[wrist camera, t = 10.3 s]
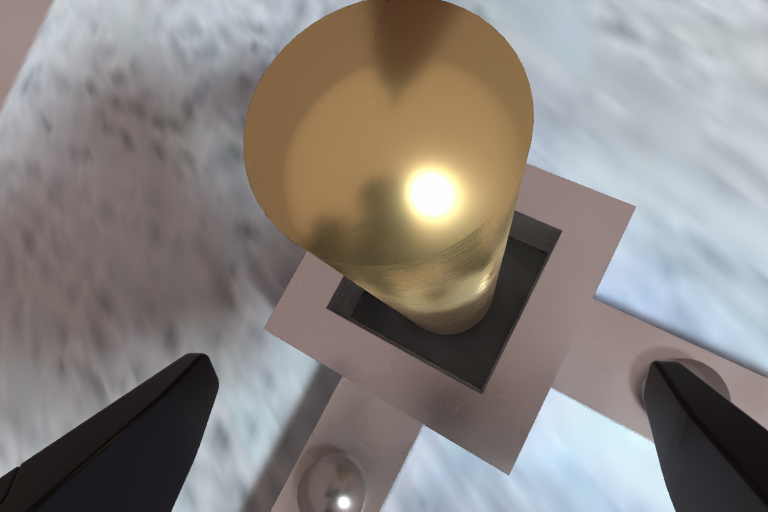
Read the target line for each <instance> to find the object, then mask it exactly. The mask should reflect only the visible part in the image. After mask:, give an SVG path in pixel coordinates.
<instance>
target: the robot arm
mask: <svg viewBox="0 0 768 512" xmlns="http://www.w3.org/2000/svg"><path fill="white" fill-rule="evenodd" d="M218 388H219V381H218V377H217V375H216V373H215V370H214V368H213V366H212V363H211V361H210V359H209V357H208V356H207V355H206V354H204V353H188V354H186V355H184V356H182V357H181V358H179V359H178V360H176V361H175V362H173V363H172V364H170V365H169V366H168V367H166V368H165V369H163V370H162V371H160V372H159V373H157V374H156V375H154V376H153V377H151V378H150V379H148V380H147V381H145V382H144V383H142V384H140V385H139V386H137V387H136V388H134V389H133V390H131V391H130V392H128V393H127V394H125V395H124V396H122V397H121V398H119V399H118V400H116V401H115V402H113V403H112V404H110V405H109V406H107V407H106V408H104V409H103V410H101V411H100V412H98V413H97V414H95V415H94V416H92V417H91V418H89V419H88V420H86V421H85V422H83V423H82V424H80V425H79V426H77V427H76V428H74V429H73V430H71V431H70V432H68V433H67V434H65V435H64V436H62V437H61V438H59V439H58V440H56V441H55V442H53V443H52V444H50V445H49V446H47V447H46V448H44V449H43V450H41V451H40V452H38V453H37V454H35V455H34V456H32V457H31V458H29V459H28V460H26V461H25V462H23V463H22V464H21V465H20V467H16V468H14V469H13V470H11V471H10V472H8V473H7V474H5V475H4V476H2V477H1V478H0V512H171V511H172V509H173V507H174V504H175V502H176V500H177V498H178V495H179V493H180V491H181V489H182V486H183V484H184V482H185V480H186V477H187V475H188V473H189V471H190V469H191V466H192V464H193V462H194V459H195V457H196V454H197V452H198V449H199V446H200V443H201V440H202V437H203V434H204V431H205V428H206V425H207V422H208V419H209V416H210V413H211V410H212V407H213V404H214V401H215V398H216V395H217V392H218ZM644 404H645V408H646V412H647V416H648V420H649V423H650V427H651V431H652V435H653V439H654V443H655V447H656V451H657V454H658V458H659V462H660V466H661V470H662V473H663V477H664V480H665V484H666V487H667V490H668V492H669V495H670V498H671V501H672V503H673V506H674V508H675V511H676V512H768V430H767V429H766V428H764V427H763V426H762V425H761V424H759V423H758V422H757V421H755V420H754V419H753V418H752V417H750V416H749V415H748V414H746V413H745V412H744V411H742V410H741V409H740V408H739V407H737V406H736V405H735V404H733V403H732V402H731V401H729V400H728V399H727V398H726V397H724V396H723V395H722V394H720V393H719V392H718V391H717V390H715V389H714V388H713V387H711V386H710V385H709V384H707V383H706V382H705V381H704V380H702V379H701V378H700V377H698V376H697V375H696V374H694V373H693V372H692V371H691V370H689V369H688V368H687V367H685V366H684V365H683V364H681V363H680V362H678V361H674V360H655V361H653V362H652V363H651V364H650V367H649V371H648V375H647V379H646V384H645V388H644Z"/></svg>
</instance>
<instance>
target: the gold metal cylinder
mask: <svg viewBox="0 0 768 512" xmlns="http://www.w3.org/2000/svg"><path fill="white" fill-rule="evenodd" d="M533 124H534V114H533V99H532V94H531V89H530V84H529V81H528V78H527V76H526V73H525V70H524V68H523V66H522V64H521V62H520V60H519V58H518V56H517V54H516V53H515V51H514V50H513V49H512V47H511V46H510V45H509V43H508V42H507V41H506V39H505V38H504V37H503V36H502V35H501V34H500V33H499V32H498V31H497V30H496V29H495V28H494V27H493V26H491V25H490V24H489V23H487V22H486V21H484V20H483V19H482V18H480V17H479V16H477V15H475V14H474V13H472V12H470V11H468V10H466V9H464V8H462V7H459V6H457V5H454V4H451V3H449V2H446V1H441V0H366V1H361V2H358V3H355V4H352V5H349V6H346V7H344V8H341V9H339V10H337V11H335V12H333V13H331V14H328V15H326V16H325V17H323V18H321V19H320V20H318V21H316V22H315V23H313V24H312V25H310V26H309V27H308V28H306V29H305V30H304V31H302V32H301V33H300V34H298V35H297V36H296V37H295V38H294V39H293V40H292V41H291V42H290V43H289V44H288V45H286V46H285V47H284V49H283V50H282V51H281V52H280V53H279V54H278V56H277V57H276V58H275V59H274V60H273V62H272V63H271V65H270V66H269V68H268V69H267V70H266V72H265V73H264V75H263V77H262V79H261V81H260V83H259V84H258V86H257V88H256V90H255V93H254V95H253V98H252V101H251V103H250V106H249V110H248V114H247V118H246V122H245V130H244V160H245V167H246V172H247V176H248V179H249V183H250V186H251V188H252V191H253V193H254V195H255V197H256V199H257V202H258V203H259V205H260V206H261V208H262V209H263V211H264V212H265V214H266V216H267V217H268V218H269V219H270V220H271V221H272V223H273V224H274V225H275V226H276V227H277V228H278V229H279V230H280V231H281V232H282V233H283V234H285V235H286V236H287V237H288V238H289V239H291V240H292V241H293V242H295V243H296V244H298V245H299V246H301V247H302V248H304V249H305V250H307V251H308V252H310V253H311V254H313V255H314V256H316V257H317V258H319V259H320V260H322V261H323V262H325V263H326V264H328V265H329V266H330V267H332V268H333V269H335V270H336V271H338V272H339V273H341V274H342V275H344V276H345V277H347V278H348V279H350V280H351V281H353V282H354V283H356V284H357V285H359V286H360V287H362V288H363V289H365V290H366V291H368V292H369V293H371V294H372V295H374V296H375V297H377V298H378V299H380V300H381V301H383V302H384V303H386V304H387V305H389V306H390V307H392V308H393V309H395V310H396V311H398V312H399V313H401V314H402V315H404V316H405V317H407V318H408V319H410V320H411V321H413V322H414V323H416V324H417V325H419V326H420V327H422V328H423V329H425V330H427V331H430V332H433V333H436V334H443V335H450V334H457V333H461V332H464V331H466V330H468V329H470V328H472V327H474V326H475V325H476V324H478V323H479V322H480V321H481V320H482V319H483V318H484V316H485V315H486V314H487V312H488V310H489V308H490V306H491V304H492V300H493V297H494V293H495V288H496V284H497V280H498V276H499V272H500V268H501V264H502V260H503V256H504V251H505V247H506V243H507V239H508V235H509V231H510V227H511V223H512V219H513V215H514V210H515V206H516V202H517V198H518V194H519V190H520V186H521V182H522V178H523V173H524V169H525V165H526V161H527V157H528V153H529V149H530V145H531V141H532V132H533Z"/></svg>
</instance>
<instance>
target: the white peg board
mask: <svg viewBox="0 0 768 512" xmlns="http://www.w3.org/2000/svg"><path fill="white" fill-rule="evenodd" d="M635 208H636V206H633V205H631V204H628V203H626V202H623V201H621V200H618V199H616V198H613V197H610V196H608V195H605V194H603V193H600V192H598V191H595V190H593V189H590V188H587V187H585V186H582V185H580V184H577V183H575V182H572V181H570V180H567V179H565V178H562V177H559V176H557V175H554V174H552V173H549V172H547V171H544V170H542V169H539V168H536V167H534V166H531V165H529V164H526V165H525V169H524V173H523V178H522V182H521V186H520V190H519V194H518V198H517V202H516V206H515V210H514V215H513V219H512V223H511V227H510V231H509V236H511V237H513V238H515V239H518V240H520V241H522V242H524V243H527V244H529V245H531V246H533V247H536V248H538V249H540V250H542V251H545V252H547V253H548V255H547V257H546V259H545V261H544V263H543V265H542V267H541V269H540V271H539V273H538V275H537V277H536V279H535V281H534V284H533V286H532V288H531V290H530V292H529V294H528V296H527V298H526V300H525V302H524V304H523V306H522V308H521V310H520V312H519V314H518V316H517V318H516V320H515V322H514V324H513V326H512V328H511V330H510V332H509V334H508V336H507V338H506V340H505V342H504V345H503V347H502V349H501V351H500V353H499V355H498V357H497V359H496V361H495V363H494V365H493V367H492V369H491V371H490V373H489V375H488V377H487V379H486V381H485V383H484V385H483V387H482V389H479V388H477V387H475V386H474V385H472V384H470V383H468V382H466V381H464V380H463V379H461V378H459V377H457V376H455V375H454V374H452V373H450V372H448V371H446V370H445V369H443V368H441V367H439V366H437V365H435V364H434V363H432V362H430V361H428V360H426V359H425V358H423V357H421V356H419V355H417V354H416V353H414V352H412V351H410V350H408V349H407V348H405V347H403V346H401V345H399V344H397V343H396V342H394V341H392V340H390V339H388V338H387V337H385V336H383V335H381V334H379V333H378V332H376V331H374V330H372V329H370V328H369V327H367V326H365V325H363V324H361V323H359V322H358V321H356V320H354V319H352V318H350V316H351V315H352V313H353V311H354V309H355V307H356V305H357V303H358V302H359V300H360V298H361V296H362V294H363V292H364V290H365V289H363V288H362V287H360V286H359V285H357V284H356V283H354V282H353V281H351V280H350V279H348V278H347V277H345V276H344V275H342V274H341V273H339V272H338V271H336V270H335V269H333V268H332V267H330V266H329V265H328V264H326V263H325V262H323V261H322V260H320V259H319V258H317V257H316V256H314V255H313V254H311V253H310V252H308V251H307V252H306V254H305V255H304V257H303V259H302V261H301V263H300V264H299V266H298V268H297V270H296V272H295V273H294V275H293V277H292V279H291V280H290V282H289V284H288V286H287V288H286V289H285V291H284V293H283V295H282V297H281V298H280V300H279V302H278V304H277V305H276V307H275V309H274V311H273V313H272V314H271V316H270V318H269V320H268V322H267V323H266V325H265V327H264V329H265V330H266V331H268V332H270V333H271V334H273V335H275V336H276V337H278V338H280V339H281V340H283V341H285V342H286V343H288V344H290V345H291V346H293V347H295V348H296V349H298V350H300V351H301V352H303V353H305V354H306V355H308V356H310V357H311V358H313V359H315V360H316V361H318V362H320V363H322V364H323V365H325V366H327V367H328V368H330V369H332V370H333V371H335V372H337V373H338V374H340V375H342V377H341V379H340V381H339V383H338V385H337V387H336V389H335V391H334V392H333V394H332V396H331V398H330V400H329V402H328V404H327V406H326V407H325V409H324V411H323V413H322V415H321V417H320V419H319V421H318V423H317V424H316V426H315V428H314V430H313V432H312V434H311V436H310V438H309V440H308V441H307V443H306V445H305V447H304V449H303V451H302V453H301V455H300V456H299V458H298V460H297V462H296V464H295V466H294V468H293V470H292V472H291V473H290V475H289V477H288V479H287V481H286V483H285V485H284V487H283V488H282V490H281V492H280V494H279V496H278V498H277V500H276V502H275V504H274V505H273V507H272V509H271V511H270V512H382V510H383V508H384V506H385V504H386V502H387V500H388V498H389V496H390V494H391V492H392V490H393V488H394V486H395V484H396V482H397V480H398V478H399V476H400V474H401V472H402V470H403V468H404V466H405V464H406V462H407V460H408V458H409V456H410V454H411V452H412V450H413V448H414V446H415V444H416V442H417V440H418V438H419V436H420V434H421V432H422V430H423V428H424V426H427V427H429V428H430V429H432V430H434V431H435V432H437V433H439V434H440V435H442V436H444V437H445V438H447V439H449V440H450V441H452V442H454V443H455V444H457V445H459V446H460V447H462V448H464V449H465V450H467V451H469V452H470V453H472V454H474V455H475V456H477V457H479V458H480V459H482V460H484V461H485V462H487V463H489V464H490V465H492V466H494V467H495V468H497V469H499V470H501V471H502V472H504V473H506V474H507V475H509V474H510V472H511V470H512V468H513V466H514V464H515V462H516V459H517V457H518V455H519V453H520V451H521V449H522V447H523V445H524V443H525V440H526V438H527V436H528V434H529V432H530V430H531V428H532V426H533V424H534V421H535V419H536V417H537V415H538V413H539V411H540V409H541V407H542V404H543V402H544V400H545V398H546V396H547V394H548V392H549V390H550V388H551V389H553V390H555V391H557V392H558V393H560V394H562V395H564V396H566V397H568V398H570V399H572V400H574V401H575V402H577V403H579V404H581V405H583V406H585V407H587V408H589V409H591V410H593V411H594V412H596V413H598V414H600V415H602V416H604V417H606V418H608V419H610V420H611V421H613V422H615V423H617V424H619V425H621V426H623V427H625V428H627V429H629V430H630V431H632V432H634V433H636V434H638V435H640V436H642V437H644V438H646V439H648V440H649V441H651V442H653V443H654V439H653V435H652V431H651V427H650V423H649V420H648V416H647V412H646V408H645V404H644V388H645V384H646V379H647V375H648V371H649V367H650V364H651V363H652V362H653V361H655V360H674V361H678V362H680V363H681V364H683V365H684V366H685V367H687V368H688V369H689V370H691V371H692V372H693V373H694V374H696V375H697V376H698V377H700V378H701V379H702V380H704V381H705V382H706V383H707V384H709V385H710V386H711V387H713V388H714V389H715V390H717V391H718V392H719V393H720V394H722V395H723V396H724V397H726V398H727V399H728V400H729V401H731V402H732V403H733V404H735V405H736V406H737V407H739V408H740V409H741V410H742V411H744V412H745V413H746V414H748V415H749V416H750V417H752V418H753V419H754V420H755V421H757V422H758V423H759V424H761V425H762V426H763V427H764V428H766V429H767V430H768V378H766V377H763V376H761V375H759V374H757V373H755V372H753V371H750V370H748V369H746V368H744V367H742V366H739V365H737V364H735V363H733V362H731V361H729V360H726V359H724V358H722V357H720V356H718V355H715V354H713V353H711V352H709V351H707V350H705V349H702V348H700V347H698V346H696V345H694V344H691V343H689V342H687V341H685V340H683V339H681V338H678V337H676V336H674V335H672V334H670V333H667V332H665V331H663V330H661V329H659V328H657V327H654V326H652V325H650V324H648V323H646V322H643V321H641V320H639V319H637V318H635V317H633V316H630V315H628V314H626V313H624V312H622V311H620V310H617V309H615V308H613V307H611V306H609V305H606V304H604V303H602V302H600V301H598V300H596V299H593V297H594V295H595V293H596V290H597V288H598V286H599V284H600V282H601V280H602V278H603V276H604V274H605V271H606V269H607V267H608V265H609V263H610V261H611V259H612V257H613V255H614V252H615V250H616V248H617V246H618V244H619V242H620V240H621V238H622V236H623V233H624V231H625V229H626V227H627V225H628V223H629V221H630V219H631V217H632V214H633V212H634V210H635Z"/></svg>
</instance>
